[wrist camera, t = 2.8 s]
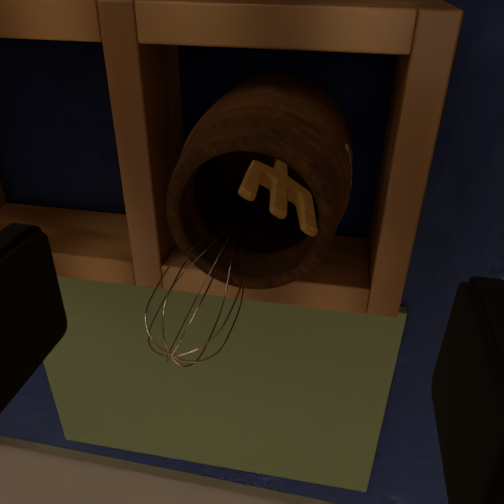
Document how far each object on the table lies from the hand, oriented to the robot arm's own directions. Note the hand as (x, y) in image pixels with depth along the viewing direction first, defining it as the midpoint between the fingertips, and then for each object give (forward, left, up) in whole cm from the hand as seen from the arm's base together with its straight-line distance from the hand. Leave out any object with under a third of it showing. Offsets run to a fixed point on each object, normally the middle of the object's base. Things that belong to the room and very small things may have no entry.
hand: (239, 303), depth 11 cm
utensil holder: (-1, 0, -11) cm, 11 cm away
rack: (-5, -2, -11) cm, 12 cm away
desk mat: (+4, -14, -11) cm, 18 cm away
